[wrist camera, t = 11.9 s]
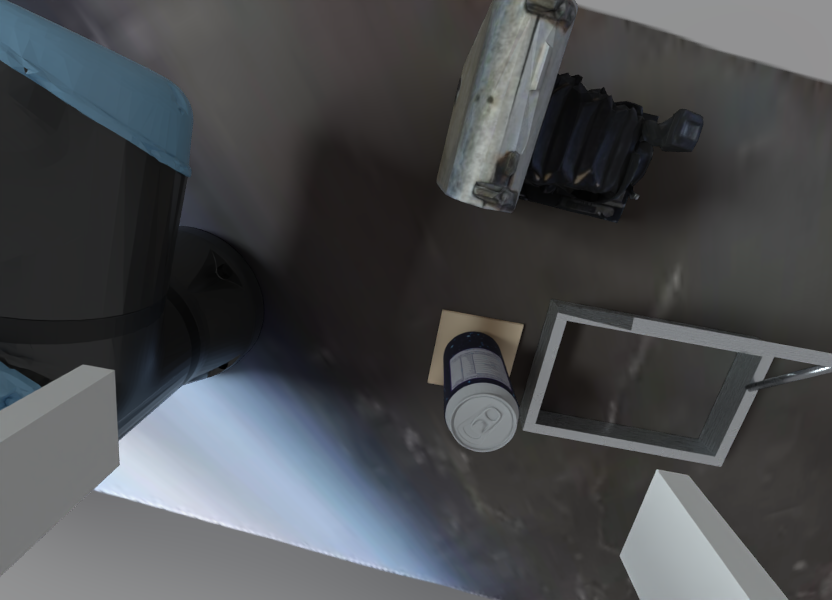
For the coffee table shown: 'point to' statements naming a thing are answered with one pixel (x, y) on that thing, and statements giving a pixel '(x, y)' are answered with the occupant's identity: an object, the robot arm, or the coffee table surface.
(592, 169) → the vintage camera
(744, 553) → the robot arm
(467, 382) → the beverage can
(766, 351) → the case
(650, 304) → the coffee table surface
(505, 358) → the pad
